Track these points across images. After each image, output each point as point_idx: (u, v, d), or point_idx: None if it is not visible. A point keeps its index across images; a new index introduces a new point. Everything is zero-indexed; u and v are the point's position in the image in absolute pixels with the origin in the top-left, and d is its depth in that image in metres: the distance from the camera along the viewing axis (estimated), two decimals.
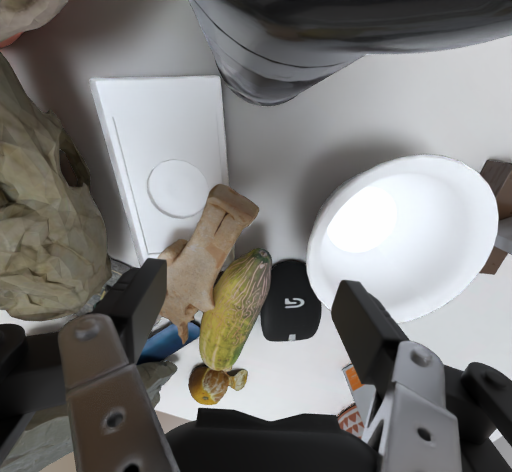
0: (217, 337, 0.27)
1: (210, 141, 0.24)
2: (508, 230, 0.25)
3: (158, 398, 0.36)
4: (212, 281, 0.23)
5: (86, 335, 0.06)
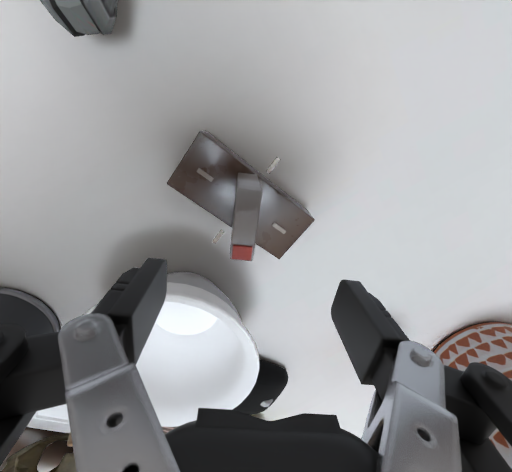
0: None
1: None
2: None
3: None
4: None
5: (86, 335, 0.06)
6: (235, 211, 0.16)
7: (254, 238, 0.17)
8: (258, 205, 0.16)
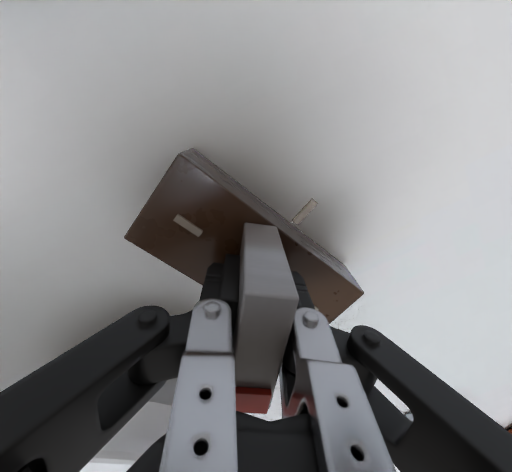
0: None
1: None
2: None
3: None
4: None
5: (210, 315, 0.08)
6: (239, 333, 0.07)
7: (276, 376, 0.08)
8: (288, 323, 0.07)
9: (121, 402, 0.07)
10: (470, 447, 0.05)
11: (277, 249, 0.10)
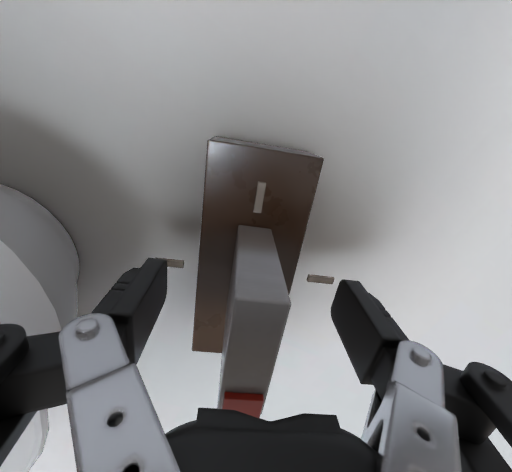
0: None
1: None
2: (226, 317, 0.11)
3: None
4: None
5: (87, 335, 0.06)
6: (230, 338, 0.07)
7: (268, 382, 0.08)
8: (280, 328, 0.07)
9: None
10: None
11: (270, 252, 0.10)
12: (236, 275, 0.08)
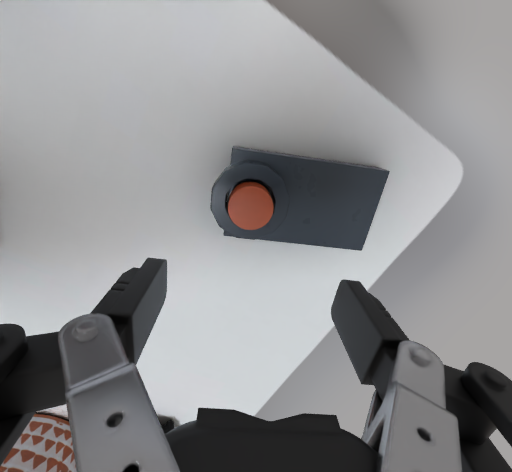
0: None
1: None
2: None
3: None
4: None
5: (86, 335, 0.06)
6: None
7: None
8: None
9: None
10: None
11: None
12: None
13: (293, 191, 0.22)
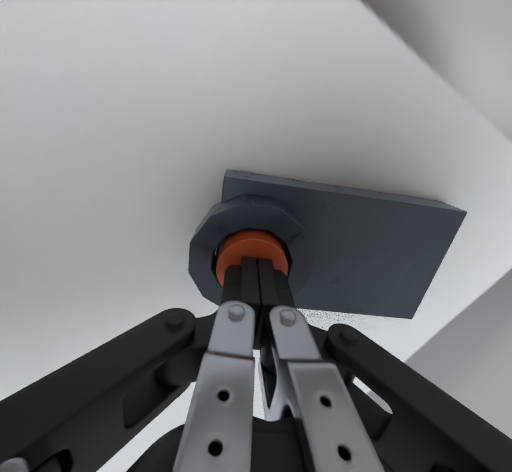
0: None
1: None
2: None
3: None
4: None
5: (234, 317, 0.08)
6: None
7: None
8: None
9: (145, 401, 0.07)
10: (448, 438, 0.06)
11: None
12: None
13: (318, 240, 0.15)
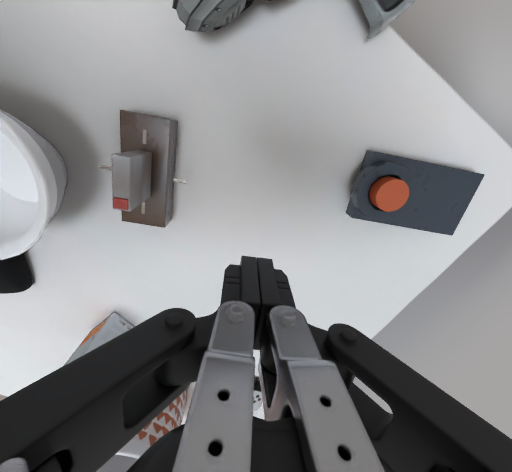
0: None
1: None
2: None
3: None
4: None
5: (234, 317, 0.08)
6: (112, 171, 0.22)
7: (129, 193, 0.23)
8: (128, 168, 0.22)
9: (145, 401, 0.07)
10: (448, 438, 0.06)
11: (139, 153, 0.24)
12: (117, 153, 0.23)
13: None
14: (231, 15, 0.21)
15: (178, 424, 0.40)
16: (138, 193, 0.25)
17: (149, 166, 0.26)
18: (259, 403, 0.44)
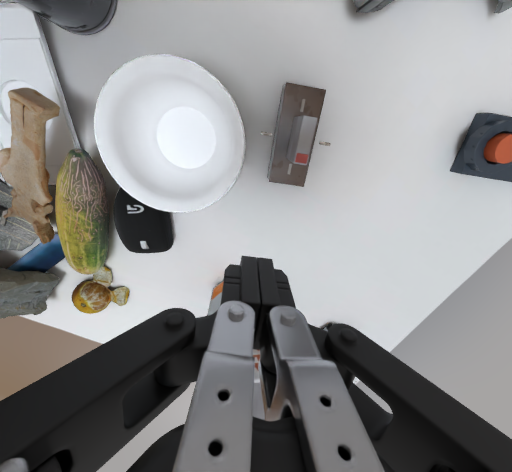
0: (63, 232, 0.33)
1: (41, 64, 0.30)
2: (290, 150, 0.31)
3: (44, 306, 0.42)
4: (38, 173, 0.29)
5: (234, 317, 0.08)
6: (300, 130, 0.27)
7: (309, 149, 0.28)
8: (314, 127, 0.27)
9: (145, 401, 0.07)
10: (448, 438, 0.06)
11: None
12: (301, 116, 0.28)
13: None
14: None
15: None
16: None
17: None
18: None
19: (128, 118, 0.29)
